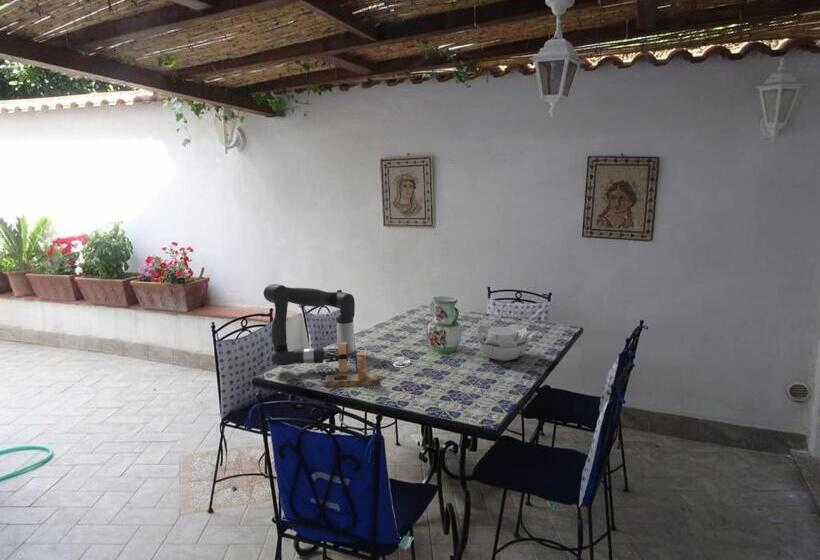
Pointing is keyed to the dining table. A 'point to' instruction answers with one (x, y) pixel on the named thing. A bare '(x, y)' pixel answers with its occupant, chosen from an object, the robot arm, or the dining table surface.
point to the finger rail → (353, 375)
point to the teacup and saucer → (401, 361)
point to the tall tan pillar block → (341, 350)
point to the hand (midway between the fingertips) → (347, 354)
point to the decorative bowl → (502, 341)
